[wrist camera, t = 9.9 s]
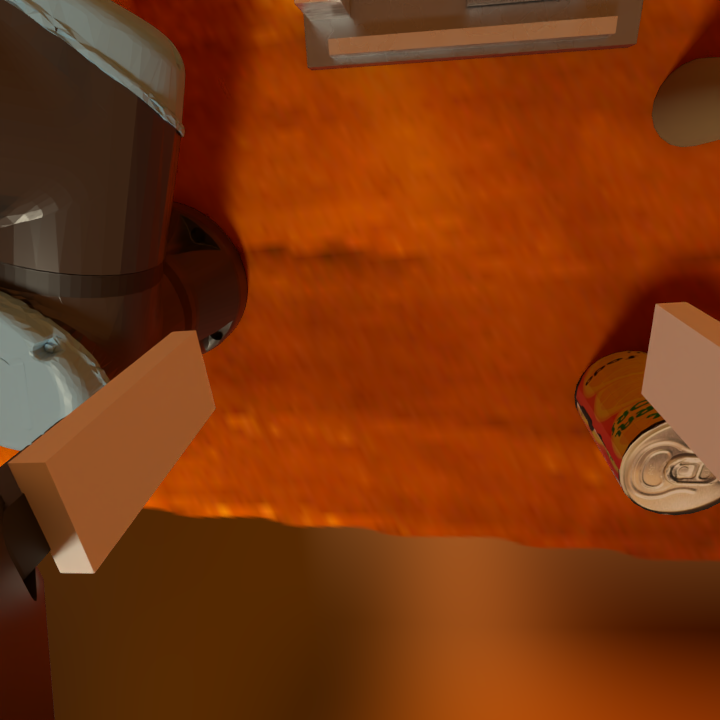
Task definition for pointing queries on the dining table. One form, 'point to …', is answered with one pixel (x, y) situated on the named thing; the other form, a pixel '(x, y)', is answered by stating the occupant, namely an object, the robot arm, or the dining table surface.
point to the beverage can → (641, 439)
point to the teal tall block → (492, 2)
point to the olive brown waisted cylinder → (689, 104)
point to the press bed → (459, 29)
